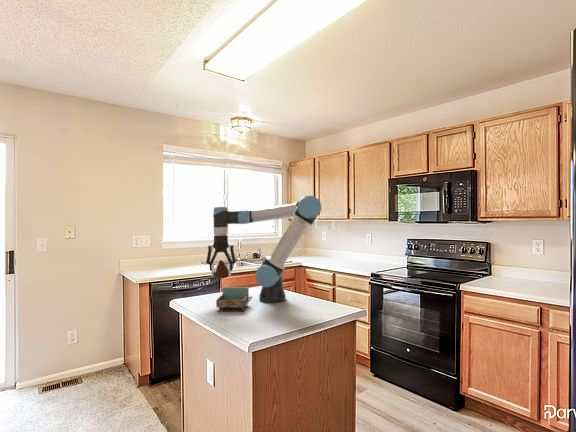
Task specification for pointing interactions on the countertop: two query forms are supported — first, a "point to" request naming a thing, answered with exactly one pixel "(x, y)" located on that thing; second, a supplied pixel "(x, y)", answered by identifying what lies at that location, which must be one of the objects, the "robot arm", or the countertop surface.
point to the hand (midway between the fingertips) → (221, 276)
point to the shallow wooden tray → (233, 298)
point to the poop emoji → (221, 270)
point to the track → (233, 311)
